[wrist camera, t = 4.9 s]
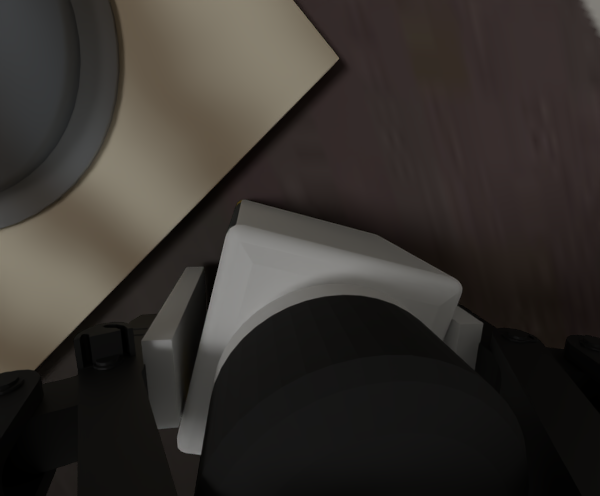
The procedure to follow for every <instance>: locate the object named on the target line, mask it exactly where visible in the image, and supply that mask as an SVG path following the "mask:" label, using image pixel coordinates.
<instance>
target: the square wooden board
mask: <svg viewBox="0 0 600 496" xmlns="http://www.w3.org/2000/svg"><path fill="white" fill-rule="evenodd" d="M338 60H339V57H338V56H337V55H336V54H335V52H334V51H333V50H332V49H331V47H330V46H329V45H328V44H327V42H326V41H325V40H324V39H323V37H322V36H321V35H320V34H319V32H318V31H317V30H316V29H315V27H314V26H313V25H312V23H311V22H310V21H309V20H308V18H307V17H306V16H305V15H304V13H303V12H302V11H301V10H300V8H299V7H298V6H297V5H296V3H295V2H294V1H293V0H0V373H4V372H8V371H9V372H11V371H15V370H28V369H29V370H35V369H36V368H37V367H38V366H39V365H40V364H41V363H42V362H43V361H44V360H45V359H46V358H47V357H48V356H49V355H50V354H51V353H52V352H53V351H54V350H55V349H56V348H57V347H58V346H59V345H60V344H61V343H62V342H63V341H64V340H65V339H66V338H67V337H68V336H69V335H70V334H71V333H72V332H73V331H74V330H75V329H76V328H77V327H78V326H79V325H80V323H81V322H82V321H83V320H84V319H85V318H86V317H87V316H88V315H89V314H90V313H91V312H92V311H93V310H94V309H95V308H96V307H97V306H98V305H99V304H100V303H101V302H102V301H103V300H104V299H105V298H106V297H107V296H108V295H109V294H110V293H111V292H112V291H113V290H114V289H115V288H116V287H117V286H118V285H119V284H120V283H121V282H122V281H123V280H124V279H125V278H126V277H127V276H128V275H129V274H130V273H131V271H132V270H133V269H134V268H135V267H136V266H137V265H138V264H139V263H140V262H141V261H142V260H143V259H144V258H145V257H146V256H147V255H148V254H149V253H150V252H151V251H152V250H153V249H154V248H155V247H156V246H157V245H158V244H159V243H160V242H161V241H162V240H163V239H164V238H165V237H166V236H167V235H168V234H169V233H170V232H171V231H172V230H173V229H174V228H175V227H176V226H177V225H178V224H179V223H180V222H181V221H182V219H183V218H184V217H185V216H186V215H187V214H188V213H189V212H190V211H191V210H192V209H193V208H194V207H195V206H196V205H197V204H198V203H199V202H200V201H201V200H202V199H203V198H204V197H205V196H206V195H207V194H208V193H209V192H210V191H211V190H212V189H213V188H214V187H215V186H216V185H217V184H218V183H219V182H220V181H221V180H222V179H223V178H224V177H225V176H226V175H227V174H228V173H229V172H230V171H231V170H232V169H233V167H234V166H235V165H236V164H237V163H238V162H239V161H240V160H241V159H242V158H243V157H244V156H245V155H246V154H247V153H248V152H249V151H250V150H251V149H252V148H253V147H254V146H255V145H256V144H257V143H258V142H259V141H260V140H261V139H262V138H263V137H264V136H265V135H266V134H267V133H268V132H269V131H270V130H271V129H272V128H273V127H274V126H275V125H276V124H277V123H278V122H279V121H280V120H281V119H282V118H283V117H284V115H285V114H286V113H287V112H288V111H289V110H290V109H291V108H292V107H293V106H294V105H295V104H296V103H297V102H298V101H299V100H300V99H301V98H302V97H303V96H304V95H305V94H306V93H307V92H308V91H309V90H310V89H311V88H312V87H313V86H314V85H315V84H316V83H317V82H318V81H319V80H320V79H321V78H322V77H323V76H324V75H325V74H326V73H327V72H328V71H329V70H330V69H331V68H332V67H333V66H334V64H335V63H336V62H337V61H338Z"/></svg>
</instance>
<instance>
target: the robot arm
mask: <svg viewBox="0 0 600 496" xmlns="http://www.w3.org/2000/svg"><path fill="white" fill-rule="evenodd" d="M206 316H207V313H206V293H205V273H204V267H186V269H185V271H184V272H183V274H182V275H181V277H180V279H179V280H178V282H177V284H176V285H175V287H174V289H173V290H172V292H171V293H170V295H169V297H168V298H167V300H166V302H165V303H164V305H163V306H162V308H161V310H160V311H159V313H158V314H148V315H140V316H139V317H137V318H136V319H134V320H132V321H131V322H130V323H129V324H127V323H124V322H110V323H103V324H99V325H95V326H92V327H89V328H87V329H85V330H83V331H81V332H80V333H78V334H77V335H76V336H75V338H74V340H73V341H74V348H75V354H76V361H77V367H78V375H77V376H74V377H71V378H67V379H63V380H59V381H55V382H50V383H46V384H42V382H41V377H40V374H39V373H38V372H37V371H34V370H29V369H28V370H15V371H11V372H9V371H8V372H4V373H0V496H46V493H47V491H48V489H49V486H50V484H51V481H52V479H53V476H54V474H55V472H56V468H58V467H61V466H65V465H68V464H71V463H74V462H77V461H78V496H177V493H176V489H175V486H174V482H173V479H172V476H171V472H170V469H169V465H168V462H167V459H166V455H165V452H164V449H163V445H162V442H161V438H160V435H159V432H158V429H165V428H176V427H179V424H180V420H181V417H182V413H183V409H184V406H185V402H186V398H187V394H188V390H189V386H190V382H191V378H192V374H193V370H194V365H195V361H196V357H197V353H198V349H199V345H200V341H201V337H202V332H203V328H204V324H205V320H206ZM443 342H444V343H445V344H446V345H447V346H448V347H450V348H451V349H452V350H453V351H454V352H455V353H456V354H457V355H458V356H459V357H460V358H462V359H463V360H464V361H465V362H466V363H467V364H468V365H469V366H470V367H471V368H472V369H473V370H475V371H476V372H477V373H478V374H479V375H480V376H481V377H482V378H483V379H484V380H485V381H487V382H488V383H489V384H490V385H491V386H492V387H493V388H494V389H495V390H496V391H497V392H498V393H499V394H500V395H501V396H502V397H503V399H504V400H505V401H506V402H507V403H508V405H509V407H510V408H511V410H512V411H513V413H514V414H515V416H516V418H517V420H518V423H519V425H520V427H521V430H522V432H523V436H524V441H525V445H526V450H527V461H528V475H529V492H528V496H600V338H597V337H594V336H593V337H592V336H589V335H585V336H582V335H570V336H569V337H567V339H566V344H565V348H564V349H556V348H547V347H545V346H544V344H543V343H542V342H541V341H540V340H539V339H538V338H536V337H535V336H534V335H531V334H529V333H526V332H523V331H521V330H517V329H510V328H498V329H497V328H495V327H494V326H492V325H491V324H489V323H488V322H486V321H485V320H483V319H482V318H479V316H477V315H476V314H474V313H472V312H471V311H470V310H468V309H467V308H465V307H464V306H462V305H459V304H457V307H456V309H455V312H454V314H453V317H452V319H451V322H450V324H449V327H448V329H447V332H446V334H445V337H444V339H443Z"/></svg>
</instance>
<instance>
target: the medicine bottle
mask: <svg viewBox="0 0 600 496" xmlns="http://www.w3.org/2000/svg"><path fill="white" fill-rule="evenodd" d="M462 289H463V288H462V286H461V283H460V282H459V281H458V280H457V279H455V278H453V277H452V276H450V275H448V274H446V273H444V272H443V271H441V270H439V269H437V268H436V267H434V266H432V265H430V264H428V263H427V262H425V261H423V260H421V259H419V258H418V257H416V256H414V255H412V254H410V253H409V252H407V251H405V250H403V249H402V248H400V247H398V246H396V245H394V244H393V243H391V242H389V241H387V240H385V239H384V238H382V237H380V236H378V235H376V234H372V233H369V232H365V231H361V230H357V229H354V228H350V227H346V226H342V225H339V224H335V223H331V222H327V221H324V220H320V219H316V218H313V217H309V216H305V215H301V214H298V213H294V212H290V211H286V210H283V209H279V208H275V207H271V206H268V205H264V204H260V203H256V202H253V201H249V200H241V201H239V202H238V203H237V205H236V207H235V210H234V213H233V216H232V219H231V222H230V225H229V228H228V231H227V234H226V238H225V242H224V246H223V250H222V254H221V258H220V262H219V266H218V271H217V275H216V279H215V283H214V287H213V291H212V295H211V299H210V304H209V308H208V312H207V316H206V320H205V324H204V328H203V332H202V337H201V341H200V345H199V349H198V353H197V357H196V361H195V365H194V370H193V374H192V378H191V382H190V386H189V390H188V394H187V398H186V403H185V407H184V411H183V415H182V419H181V423H180V427H179V431H178V436H177V444H178V448H179V450H180V451H182V452H184V453H189V454H198V455H201V457H200V463H199V469H198V475H197V481H196V487H195V493H194V496H528V492H529V475H528V461H527V450H526V445H525V441H524V436H523V432H522V430H521V427H520V425H519V423H518V420H517V418H516V416H515V414H514V413H513V411H512V410H511V408H510V407H509V405H508V403H507V402H506V401H505V400H504V399H503V397H502V396H501V395H500V394H499V393H498V392H497V391H496V390H495V389H494V388H493V387H492V386H491V385H490V384H489V383H488V382H487V381H485V380H484V379H483V378H482V377H481V376H480V375H479V374H478V373H477V372H476V371H475V370H473V369H472V368H471V367H470V366H469V365H468V364H467V363H466V362H465V361H464V360H463V359H462V358H460V357H459V356H458V355H457V354H456V353H455V352H454V351H453V350H452V349H451V348H450V347H448V346H447V345H446V344H445V343H444V342H443V339H444V337H445V334H446V332H447V329H448V327H449V324H450V322H451V319H452V317H453V314H454V312H455V309H456V307H457V304H458V302H459V299H460V297H461V294H462Z"/></svg>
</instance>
